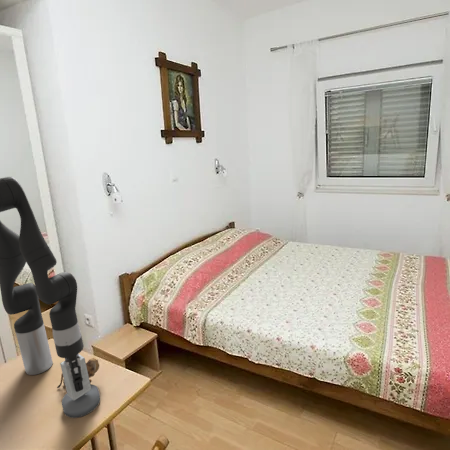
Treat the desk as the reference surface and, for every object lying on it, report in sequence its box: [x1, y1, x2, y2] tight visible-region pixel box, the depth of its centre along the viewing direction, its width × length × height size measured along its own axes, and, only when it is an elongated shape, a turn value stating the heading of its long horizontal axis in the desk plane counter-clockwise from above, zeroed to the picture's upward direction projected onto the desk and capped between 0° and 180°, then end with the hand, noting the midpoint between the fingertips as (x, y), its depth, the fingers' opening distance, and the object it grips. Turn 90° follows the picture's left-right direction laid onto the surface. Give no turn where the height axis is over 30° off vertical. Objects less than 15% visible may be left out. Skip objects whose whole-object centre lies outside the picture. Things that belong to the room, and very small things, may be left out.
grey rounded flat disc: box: [61, 383, 101, 419], centre depth 110 cm, size 11×11×3 cm
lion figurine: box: [56, 357, 100, 389], centre depth 118 cm, size 15×5×9 cm, turn 104°
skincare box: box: [59, 353, 91, 400], centre depth 108 cm, size 6×4×12 cm
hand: (77, 384), depth 109 cm, fingers closed on skincare box, 5 cm apart
